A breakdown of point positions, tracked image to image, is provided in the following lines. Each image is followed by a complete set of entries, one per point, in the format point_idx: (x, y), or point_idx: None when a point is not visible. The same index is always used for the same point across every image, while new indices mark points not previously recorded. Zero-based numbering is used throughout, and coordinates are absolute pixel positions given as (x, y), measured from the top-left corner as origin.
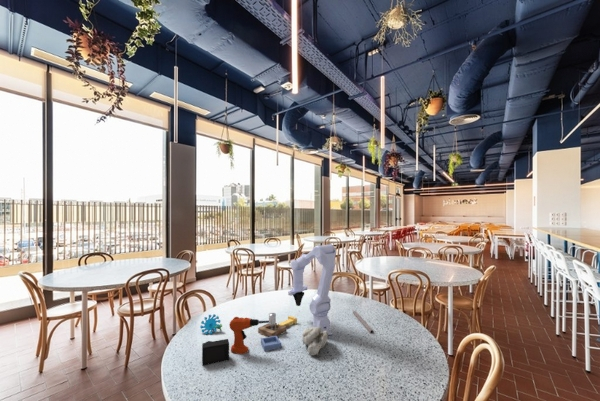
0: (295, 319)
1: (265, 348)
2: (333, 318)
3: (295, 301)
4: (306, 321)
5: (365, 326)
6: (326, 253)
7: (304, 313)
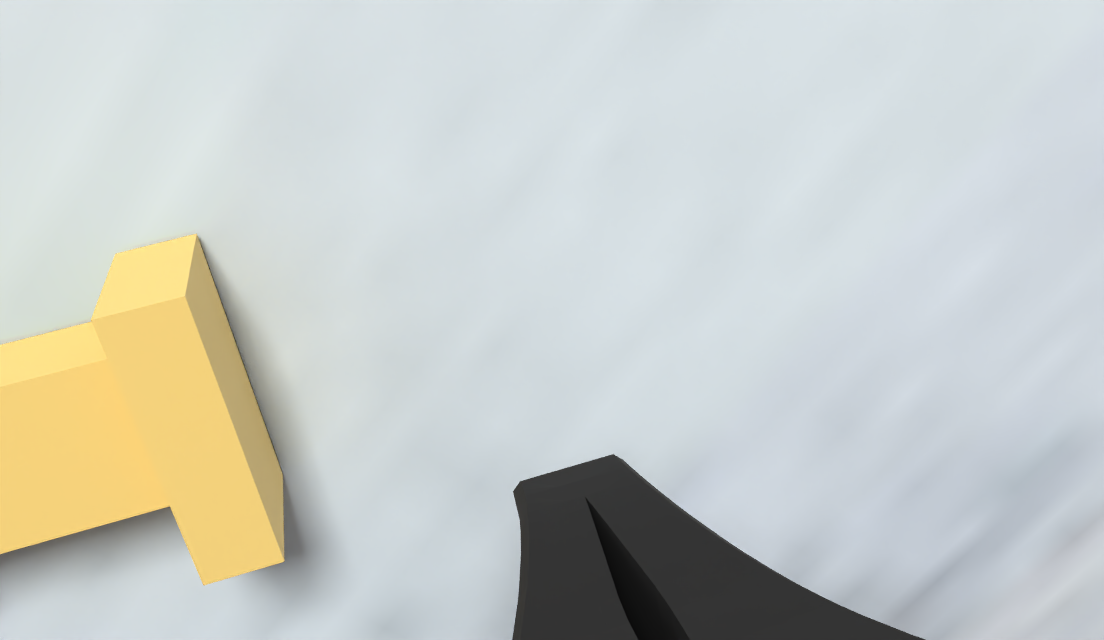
0: (218, 566)
1: None
2: (1075, 631)
3: (522, 595)
4: None
5: None
6: None
7: (919, 8)
